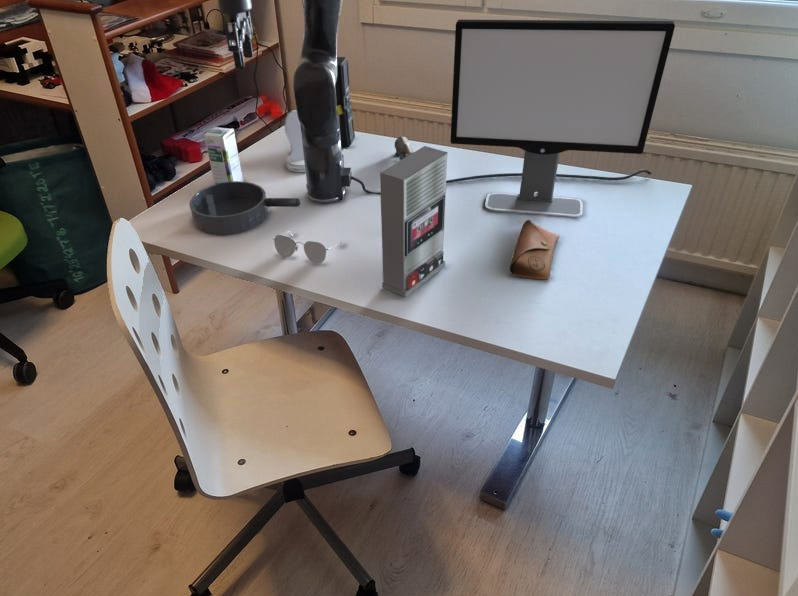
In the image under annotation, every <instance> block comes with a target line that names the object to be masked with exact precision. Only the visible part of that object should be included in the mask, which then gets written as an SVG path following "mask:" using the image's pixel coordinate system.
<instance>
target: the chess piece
mask: <svg viewBox="0 0 798 596" xmlns="http://www.w3.org/2000/svg"><path fill="white" fill-rule="evenodd" d="M284 134H285V135H286V137H287V140H288V142H289V145H290V151H289V153H288V159H287V160H286V163H285V165H286V168H287V170H289V171H291V172H294V173H306V171H305V162H304V153H303V144H302V135H301V127H300V122H299V120H298V116H297V109H294V110H293V109H292V110H291V111H289V112H288V113H287V115H286V117H285V120H284Z"/></svg>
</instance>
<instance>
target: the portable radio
mask: <svg viewBox="0 0 798 596" xmlns="http://www.w3.org/2000/svg"><path fill="white" fill-rule="evenodd" d="M349 74H350V73H349V60H348V58H347V56H338V54H337V80H336V84H335V92H336V105H337V113H338V115H339V123H340V138H341V148H350V147H351V145H352V144H353V142H354V140H355V138H356V134H355V128H354V127H355V125H354V117H353V106H352V102H351V100H350V89H351V88H350V86H351V85H350V75H349Z"/></svg>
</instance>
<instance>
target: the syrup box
mask: <svg viewBox="0 0 798 596" xmlns="http://www.w3.org/2000/svg"><path fill="white" fill-rule="evenodd" d="M234 129H235V128H227V127H218V126H214V127H212V128H210V129H209V130H207V131H206V132H205V133H204V134H203V137H204V141H205V148H206V151H207V155H208V161H209V165H210V170H211V174H212V179H213V185H215V184H218V183H223V182H231V181H243V182H244V179H243V174H242V168H241V161H240V157H239V150H238V145H237V140H236V135H235V130H234Z"/></svg>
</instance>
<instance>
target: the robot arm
mask: <svg viewBox="0 0 798 596" xmlns="http://www.w3.org/2000/svg"><path fill="white" fill-rule="evenodd" d="M301 1H302V2H301V3H302V11H303V20H304V29H303V39H302V45H301V46H302V47H301V52H300V56H299V57H300V58H299V62H298V64H297V66H296V69H295V71H294V74H293V81H292V84H293V94H294V100H295V101H294V102H295V110H296V111H297V116H298V120H299V122H300V127H301V135H302V144H303V153H304V162H305V171H306V172H305V179H306V190H307V198H308V200H309V201H311V202H312V203H316V204H332V203H336V202H340V201H341V202H343V201H344V199H345V195H346V191H347V188H350V187H351V184H352V181H355V182H357V183H358V184H360V185H361V188H362V191H363V192H364V193H366V194H370V195H381V192H376V191H375V192H374V191H371V190H368V189H367V188H366V185H365V183H364V181H362V180H361V179H359V178H357V177H356V176H353V172H352V167H345V158H344V154H343V153H342V147H341V138H340V123H339V115H338V113H337V105H336V92H335V84H336V80H337V55H338V32H339V31H338V30H339V23H340V18H341V14H342V10H343V4H344V0H301ZM217 2H218V8H219V11H220V12H221V13H222V14H226V15H227V16H228V21H227V22H224V30H225V35H226V36H225V37H226V42H227V43H226V44H227V48H228V52H231V53H232V56H233V62H234V68H235V69H237V70H240V69H241V70H243V69H244V68H245V67H246V65H245V59H251V58H253V57H254V51H253V50H254V49H253V43H252V40H253V35H254V30H253V23H252V17H251V10H252V9H253V4H252V0H217ZM641 173H646V174H648V175H653V173H652V171H650V170H649V169H646V168H642V169H641V168H640V169H638V170H637V171H635V172H632V173H630V174H628V175H624V176H615V177H614V176H613V177H612V176H600V175H599V176H598V175H585V174H583V175H582V174H564V173H556V178H569V179H590V180H598V181H599V180H600V181H624V180H628V179H630V178H632V177H634V176H637V175H639V174H641ZM501 177H522V172H511V173H508V172H507V173H490V174H481V175H471V176H466V177H458V178H453V179H446V184H451V183H456V182H463V181H470V180H478V179H487V178H501Z"/></svg>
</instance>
